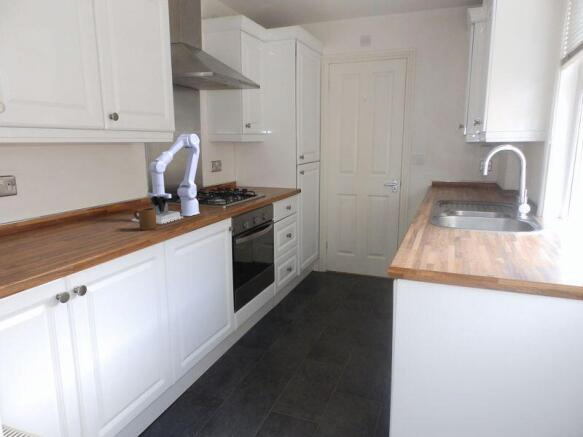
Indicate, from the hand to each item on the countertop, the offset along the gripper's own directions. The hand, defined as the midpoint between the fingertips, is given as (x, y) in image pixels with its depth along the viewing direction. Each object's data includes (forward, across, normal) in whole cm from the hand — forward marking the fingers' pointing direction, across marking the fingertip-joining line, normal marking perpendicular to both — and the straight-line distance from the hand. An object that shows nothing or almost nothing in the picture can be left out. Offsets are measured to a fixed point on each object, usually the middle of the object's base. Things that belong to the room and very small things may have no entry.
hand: (160, 211), depth 214 cm
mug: (+5, +8, -20) cm, 22 cm away
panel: (+4, 0, 0) cm, 4 cm away
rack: (+5, -2, 0) cm, 5 cm away
